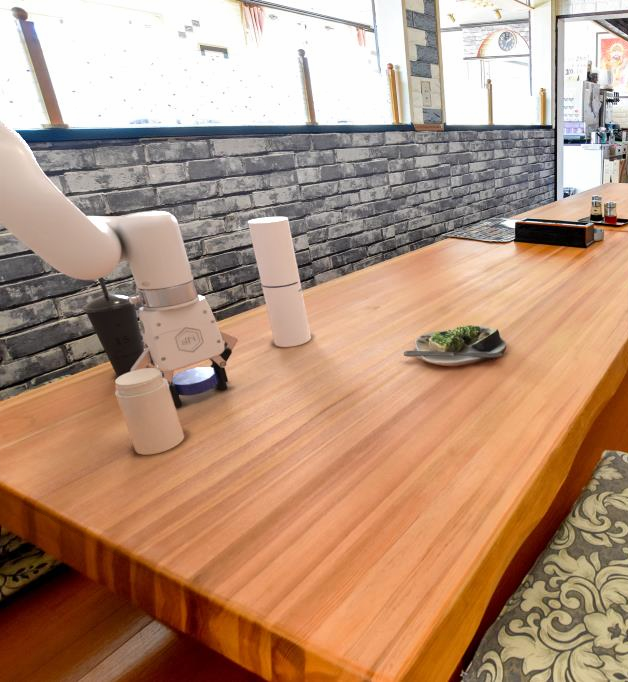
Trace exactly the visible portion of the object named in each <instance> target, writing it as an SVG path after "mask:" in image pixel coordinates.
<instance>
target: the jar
mask: <svg viewBox="0 0 628 682" xmlns="http://www.w3.org/2000/svg"><path fill="white" fill-rule="evenodd" d="M114 383H115V385H114V386H115V389H116V390H115V392H114V395H115V396H116V400H117V403H118V406H119V409H120V412H121V415H122V417H123V419H124V423H125V426H126V429H127V431H128V433H129V436H130V439H131V442H132V446H133V448H134V451H135V453H137V454H139V455H142V456H143V455H144V456H145V455H146V456H147V455H156V454H160V453H163V452H166V451H169V450H171V449H173V448H175V447H176V446H178V445H179V444H180V443H181V442H183V441H184V439H185V433H184V429H183V427H182V423H181V420H180V418H179V414H178V411H177V407H175V404H174V401H173V398H172V395H171V392H170V388H169V385H168V382H167V380H166V379H165V378H163V377H162V372H161V371H160V370H159V369H158V368H157V367H148V368H144V369H139V370H134V371H131V372H128V373H126V374H123V375H121V376H120V377H117V378H116V379H115V380H114Z"/></svg>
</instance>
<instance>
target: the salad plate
mask: <svg viewBox="0 0 628 682" xmlns="http://www.w3.org/2000/svg"><path fill="white" fill-rule="evenodd" d="M414 346H415V350H405V351H404V352H403V356H404V357H409V358H415V359H419V360H421V361H423V362H426V363H429V364H433V365H438V366H442V367H443V366H444V367H459V366H460V367H461V366H467V365H475V364H482V363H487V362H492V361H495V360H497V359H499V358H501V357H502V356H504V352H505V351H506V349H507V343H506V342H505V340H504V339H503V338H502V337H501V335H500V331H499V329H498V328H496V329H493V328H491V327H489V326H486V325H485V326H484V325H477V324H476V325H471V324H470V325H469V324H468V325H462V326H460V325H459V326H456V327H455V328H451V329H446V330H437V331H431V332H427V333H424V334H421V335H419V337H417V338H416V339H415V341H414Z"/></svg>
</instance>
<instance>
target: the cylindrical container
mask: <svg viewBox="0 0 628 682" xmlns="http://www.w3.org/2000/svg"><path fill="white" fill-rule="evenodd" d="M247 225H248V229H249V234H250V238H251V243H252V248H253V252H254V256H255V261H256V266H257V269H258V273H259V275H258V276H259V279H260V284H261V289H262V292H263V293H262V294H263V297H264V301H265V302H264V303H265V306H266V311H267V317H268V321H269V324H270V328H271V329H270V330H271V333H272V338H273V342H274V345H275V346H277V347H280V348H291V347H297V346H301V345H303V344H306V343H308V342H310V341H311V339H312V336H311V330H310V324H309V321H308V314H307V310H306V305H305V300H304V295H303V289H302V283H301V279H300V273H299V268H298V263H297V262H298V261H297V257H296V253H295V247H294V242H293V237H292V231H291V226H290V222H289V218H288V217H287V216H267V217H259V218H258V217H257V218H252V219H250V220H247Z"/></svg>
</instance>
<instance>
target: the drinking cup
mask: <svg viewBox="0 0 628 682" xmlns="http://www.w3.org/2000/svg"><path fill="white" fill-rule="evenodd" d="M97 280H98V281H99V285H100V288H101V291H102V293H103V295H102V296H98V297H97V298H94V299H92V300H91V301H89V302H88V303H86V304H84V305H83V306H82V307H81V309H82V311H83V312H84V313H86V316H87V317H88V320H89V321H90V324H91V326H92V328H93V330H94V332H95V334H96V336H97V338H98V340H99V342H100V344H101V346H102V348H103V350H104V352H105V355H106V356H107V359H108V361H109V362H110V364H111V366H112V369H113V370H114V373H115V376H116V377H117V378H118V377H120V376H121V375H123V374H126V373H128V372H131V371H130V370H131V368H132V367H133V365H134V364H135V363H136V361H137V360H138V358H139V357H140V356H141V354H142V353H143V352H144V350H145V346H144V342H143V338H142V332H141V327H140V322H139V320H138V314H137V309H136V304H131V303H130V301H129V298H128V296H129V295H128V296H127V295H122V294H109V292H108V288H107V286H106V282H105V280H104V277H102V278H99V279H97ZM146 368H149V365H148V366H147V367H146Z"/></svg>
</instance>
